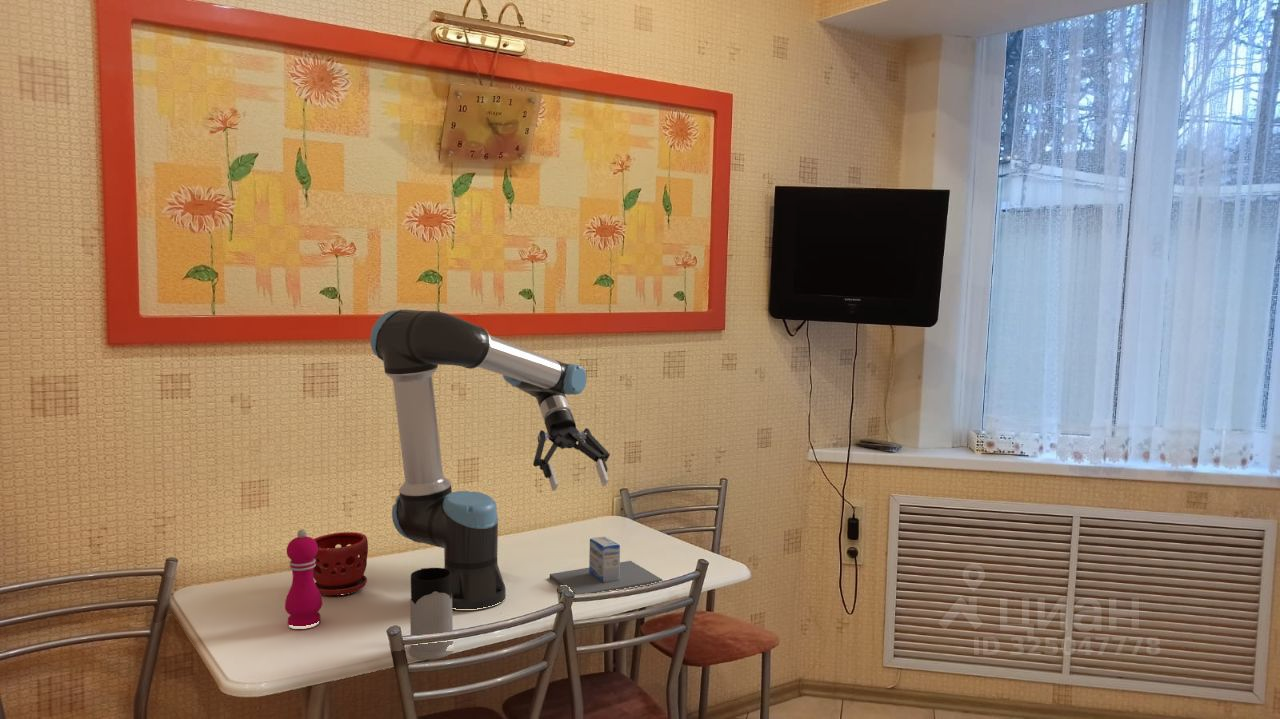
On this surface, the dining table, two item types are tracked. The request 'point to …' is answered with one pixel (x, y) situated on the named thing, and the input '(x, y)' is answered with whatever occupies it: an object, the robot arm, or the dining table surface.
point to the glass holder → (431, 610)
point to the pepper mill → (303, 582)
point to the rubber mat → (588, 583)
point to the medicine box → (604, 559)
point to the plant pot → (340, 563)
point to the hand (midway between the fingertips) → (581, 485)
